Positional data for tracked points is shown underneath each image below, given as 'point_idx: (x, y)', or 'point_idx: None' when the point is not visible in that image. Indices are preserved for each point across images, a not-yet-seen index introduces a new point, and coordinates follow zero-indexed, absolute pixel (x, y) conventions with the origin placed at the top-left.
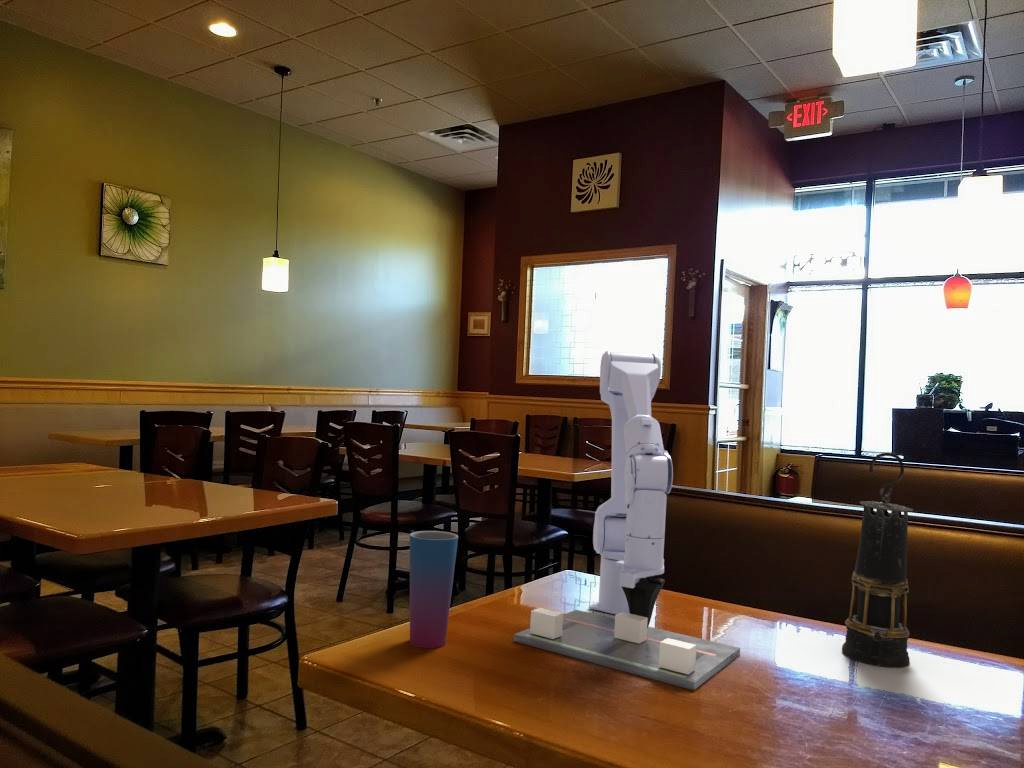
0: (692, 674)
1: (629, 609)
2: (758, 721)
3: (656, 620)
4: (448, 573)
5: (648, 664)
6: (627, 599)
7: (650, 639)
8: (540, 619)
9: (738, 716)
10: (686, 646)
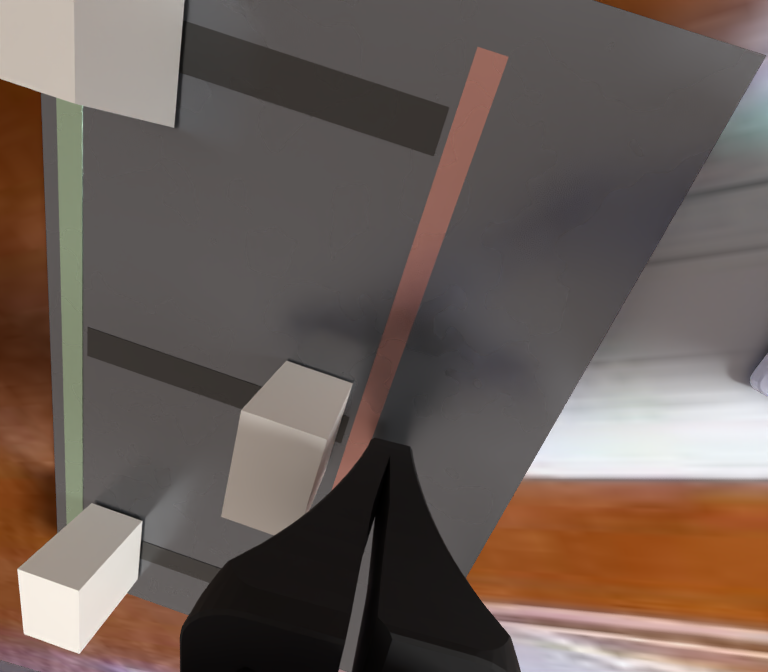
0: None
1: (342, 479)
2: (20, 628)
3: (746, 484)
4: None
5: (97, 477)
6: (306, 514)
7: None
8: None
9: (15, 605)
10: (42, 629)
